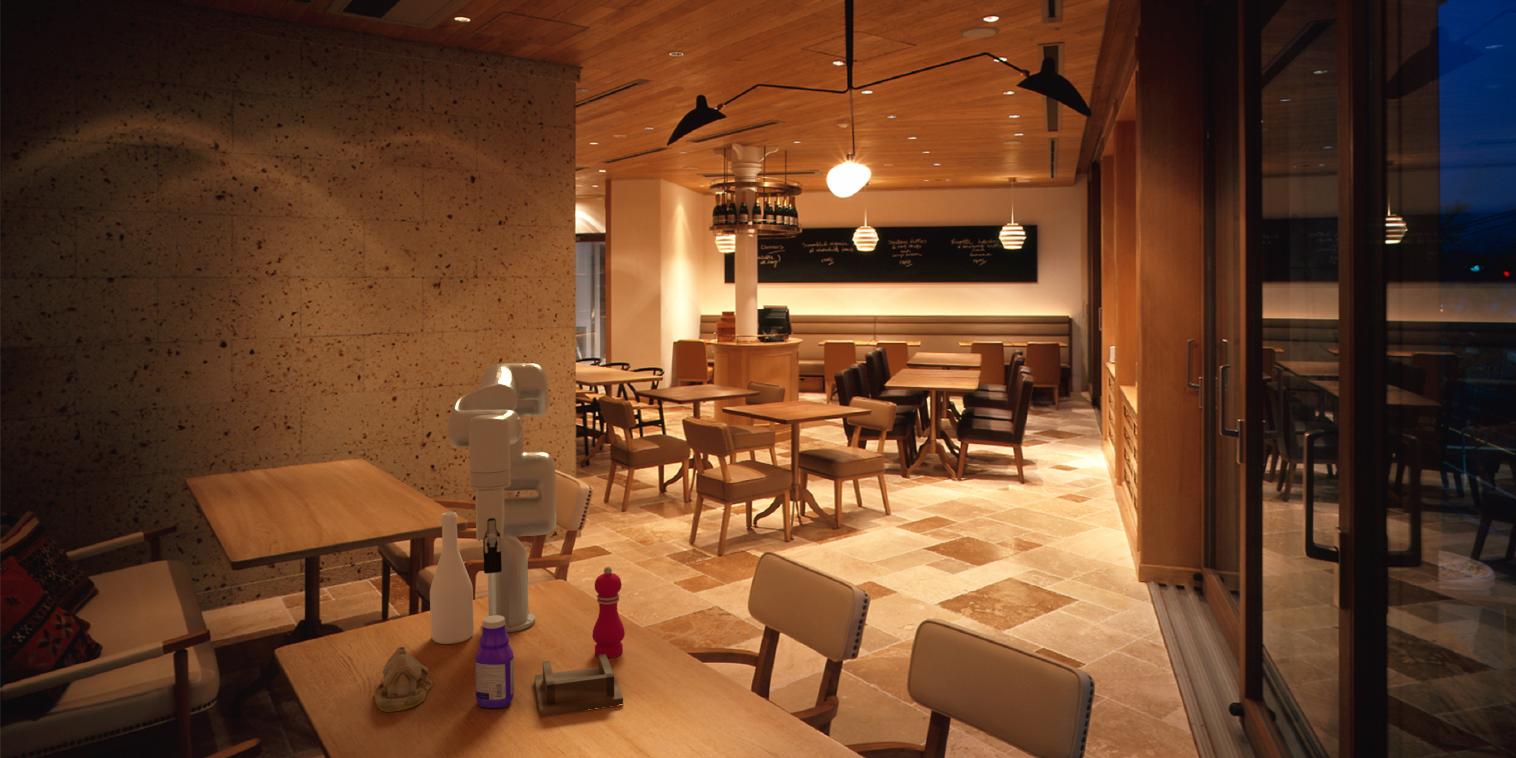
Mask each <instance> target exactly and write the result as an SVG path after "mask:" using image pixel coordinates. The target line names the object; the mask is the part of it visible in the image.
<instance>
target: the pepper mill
mask: <svg viewBox="0 0 1516 758" xmlns="http://www.w3.org/2000/svg"><path fill="white" fill-rule="evenodd" d="M612 571H613V570H612V567H610V566H606V567H605V568H604V569H603V573H601V574H599V575H598V576H597V577H596V579H595V581H594V590H595V592H596V593H597V595H596V598H597V599H596V602H597V603H598V606H599V611H598V616H597V619H596V621H595V624H594V626H593V629H592V639H593V641H594V642H595V644H594V655H595V656H597V657H598V658H599V655H600V654H606V655H607V658H608V659H611V658H612V659H613V658H616V657H619V656H621V655H622V654H623V652H624V645H623V643H622V641H623V640H624V638H625V635H626V633H625V627H624V624H623V622H622V619H621V617H620V614H619V612H618V602H619V601H620V593H619V592H620V591H621V590H622V580H621V577H620V576H619V575H618V574H616V573H614V572H612Z"/></svg>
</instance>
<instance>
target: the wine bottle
mask: <svg viewBox="0 0 1516 758" xmlns="http://www.w3.org/2000/svg"><path fill="white" fill-rule="evenodd" d="M458 520H459V517H458V514H457V512H456V511H446V512H443V513H441V516H440V523H441V524H442V526H441V531H442V532H441V533H442V534H441V535H442V538H441V539H442V540H441V541H442V543H441V545H442V546H441V547H442V548H441V553H440V556H439V560H438V563H437V566H436V569H435V572H434V576H433V578H432V580H431V581H432V582H431V585H430V589H429V603H430V604H429V606H430V607H429V608H430V610H429V611H430V612H429V613H430V635H431V639H432V641H434V642H435V643H437V644H441V645H451V644H458V643H462V642H465V641H467V640H469V639H470V638H471V637H473V634H474V630H475V627H474V598H473V597H474V594H473V593H474V590H473V587H474V586H473V584H472V580H471V578H470V576H469V573H468V571H467V568H466V566H465V563H464V561H463V558H462V555H461V552H460V550H459V549H460V548H459V543H458V542H459V541H458V524H457V523H458V522H459V521H458Z"/></svg>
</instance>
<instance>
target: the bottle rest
mask: <svg viewBox="0 0 1516 758" xmlns="http://www.w3.org/2000/svg"><path fill="white" fill-rule="evenodd" d="M614 672H615V671H614V669H613V667H612V665H611V663H610V661H609V658H607V655H606V654H600V655H599V657H598V666H597V667H596V666H595V667H588V668H582V669H581V668H580V669H574V670H565V671H556V672H553V668H552V663H551V660H545V661H542V674H534V687H535V693H536V700H537V707H538V713H539V718H544V717H552V716H558V714H559V715H566V714H573V713H579V712H580V713H581V712H586V711H585V710H587V711H589V710H588V709H594V710H596V709H595V708H601V709H603V708H602V707H608V708H611V707H610V706H615V707H618V706H617V705H619V704H623V705H624V697H623V694H622V692H621V688H620V686H619V683H618V681H617V680H618V679H617V678H616V675H615V673H614Z"/></svg>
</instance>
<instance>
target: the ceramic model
mask: <svg viewBox="0 0 1516 758" xmlns="http://www.w3.org/2000/svg"><path fill="white" fill-rule="evenodd" d="M382 674H383V680H382V681H380V683H379V684H378V685H377V686H376V688H375V690H374V691H373V697H374V701H375V704H376V706H377V707H378V709H379V710H380V711H382V712H386V713H393V712H400V711H405V710H408V709H412V708H415V707H417V706H419V705H420V704H421V703H423V702H425V700H426V697H427V694H428V693H429V691H430V690H431V688H432V687H433V683H434V682H433V681H432V680H430V679H428V675H429V674H430V670H429V668H428V667H427V666H426V665H424V664H422V663H421V662H419V660H417V659H416V658H415V657H414V656H412V655H411V653H409V652H408V651H407V650H406V647H405V646H402V647H401V646H398V647H397V648H396V650H395V651H394V653H392V655H391V656H390V657H389V658H388V659H387V661H386V663H385V665H384V666H383V669H382Z"/></svg>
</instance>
